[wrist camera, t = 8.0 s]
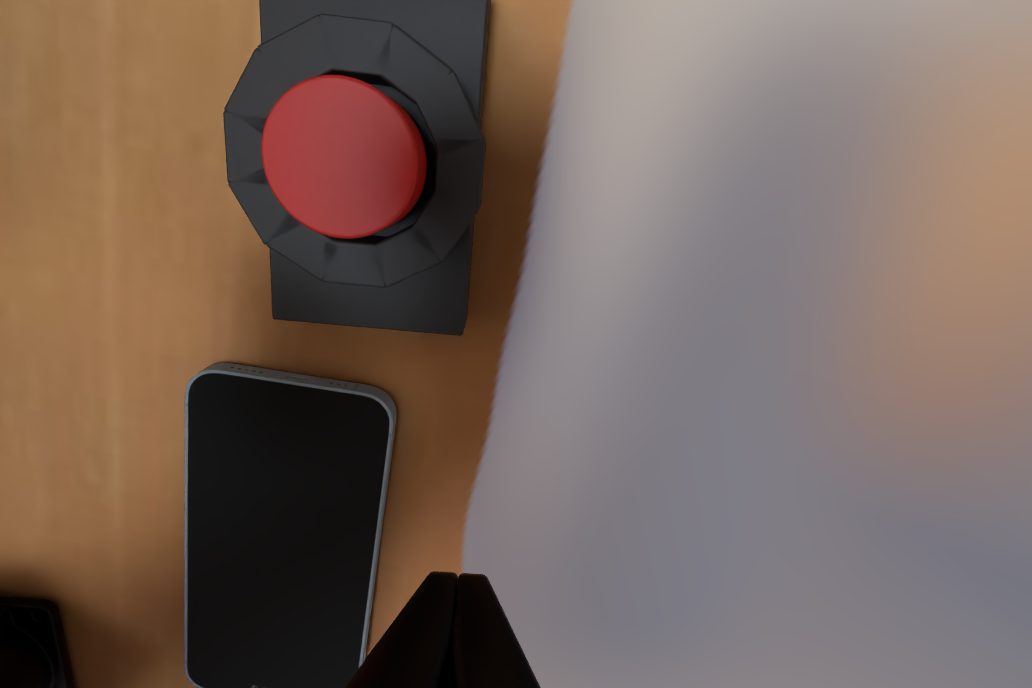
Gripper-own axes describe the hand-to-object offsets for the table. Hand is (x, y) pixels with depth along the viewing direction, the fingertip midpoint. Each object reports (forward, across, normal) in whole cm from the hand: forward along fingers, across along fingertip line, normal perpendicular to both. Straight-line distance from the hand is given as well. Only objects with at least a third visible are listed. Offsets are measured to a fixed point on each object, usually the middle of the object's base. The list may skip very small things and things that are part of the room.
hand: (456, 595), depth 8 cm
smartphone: (+12, +7, +9) cm, 17 cm away
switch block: (+12, +4, -6) cm, 14 cm away
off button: (+8, +4, -6) cm, 11 cm away
